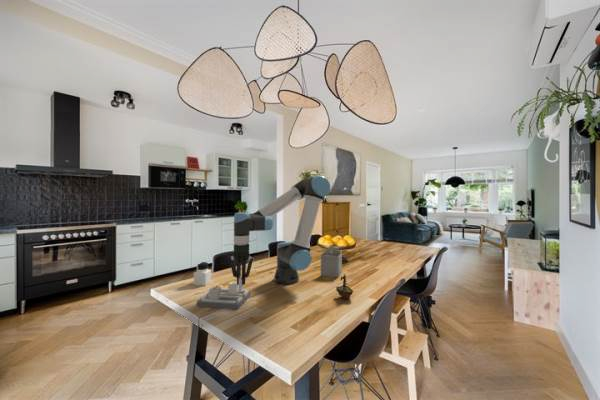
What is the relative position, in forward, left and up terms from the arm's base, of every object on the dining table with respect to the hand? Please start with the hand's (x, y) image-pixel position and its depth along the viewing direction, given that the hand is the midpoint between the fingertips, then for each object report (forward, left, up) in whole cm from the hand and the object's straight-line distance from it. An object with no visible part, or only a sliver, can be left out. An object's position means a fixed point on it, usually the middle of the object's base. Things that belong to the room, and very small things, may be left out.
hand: (241, 290), depth 119 cm
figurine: (-51, -8, -4) cm, 52 cm away
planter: (-47, -42, -4) cm, 63 cm away
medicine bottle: (+30, -16, -4) cm, 34 cm away
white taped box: (+4, 0, -1) cm, 4 cm away
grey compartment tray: (+7, +4, -4) cm, 8 cm away
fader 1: (+10, +8, -1) cm, 12 cm away
